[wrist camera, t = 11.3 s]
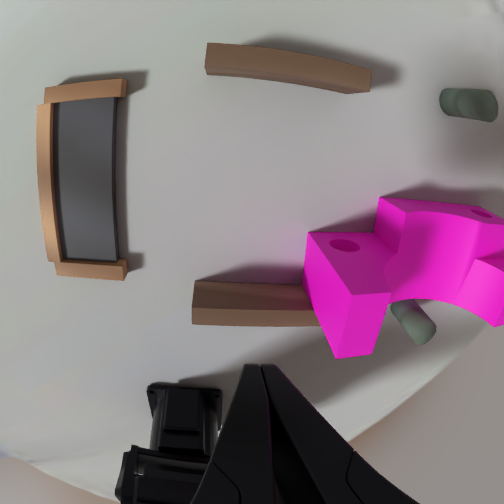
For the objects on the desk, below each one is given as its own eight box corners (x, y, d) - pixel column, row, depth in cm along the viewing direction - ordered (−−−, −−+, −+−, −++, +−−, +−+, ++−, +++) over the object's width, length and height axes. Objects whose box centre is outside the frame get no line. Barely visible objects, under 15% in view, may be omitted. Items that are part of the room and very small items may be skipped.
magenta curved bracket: (478, 206, 20) (543, 242, 13) (460, 273, 22) (513, 321, 16) (310, 192, 18) (363, 240, 12) (301, 282, 21) (335, 358, 14)
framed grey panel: (406, 313, 23) (430, 343, 20) (64, 303, 20) (43, 337, 16) (460, 93, 16) (499, 96, 12) (51, 44, 12) (17, 34, 9)
